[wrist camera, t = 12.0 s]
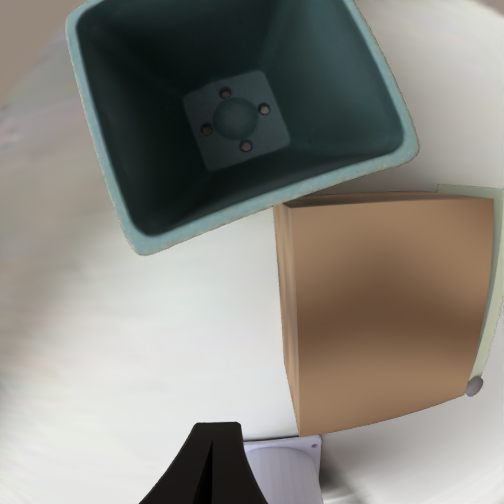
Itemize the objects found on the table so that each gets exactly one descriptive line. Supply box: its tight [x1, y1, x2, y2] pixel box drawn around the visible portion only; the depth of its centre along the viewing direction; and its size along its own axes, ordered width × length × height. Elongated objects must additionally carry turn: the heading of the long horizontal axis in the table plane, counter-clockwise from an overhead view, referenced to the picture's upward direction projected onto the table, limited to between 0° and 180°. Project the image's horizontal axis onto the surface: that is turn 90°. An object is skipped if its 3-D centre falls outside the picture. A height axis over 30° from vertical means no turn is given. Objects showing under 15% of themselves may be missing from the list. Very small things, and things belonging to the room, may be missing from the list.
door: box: [438, 184, 504, 397], centre depth 14 cm, size 11×1×6 cm, turn 1°
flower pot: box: [65, 0, 419, 256], centre depth 11 cm, size 9×9×9 cm
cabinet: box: [273, 191, 494, 437], centre depth 14 cm, size 10×9×7 cm
